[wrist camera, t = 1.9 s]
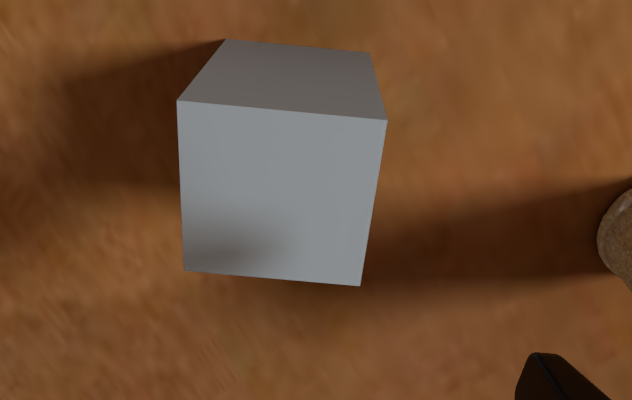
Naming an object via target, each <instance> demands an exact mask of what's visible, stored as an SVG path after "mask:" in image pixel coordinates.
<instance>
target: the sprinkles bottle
mask: <svg viewBox="0 0 632 400" xmlns="http://www.w3.org/2000/svg"><path fill="white" fill-rule="evenodd" d="M597 247H598V252H599V255H600V257H601V258H602V260H603V262H604V264H605V265H606V266H607V267H608V268H609V269H610V270H611V271H612V272H613V273H615V274H616V275H618V276H619V277H620V278H621V279H622V280H623V281H624V283H625V284H626V286H627V287H628V288H629V290H630V291H631V292H632V188H631V189H629V190H627V191H626V192H624V193H623V194H622V195H621V196H620V197H619V198H618V199H616V200H615V202H614V203H613V204H612V205H611V206H610V207H609V209H608V211H607V213H606V214H605V215H604V217H603V219H602V221H601V223H600V226H599V229H598V232H597Z"/></svg>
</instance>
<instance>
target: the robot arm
mask: <svg viewBox="0 0 632 400" xmlns="http://www.w3.org/2000/svg"><path fill="white" fill-rule="evenodd" d="M515 400H611V399H610V398H609V397H608V396H606V395H605V394H604V393H603V392H602V391H601V390H599V389H598V388H597V387H596V386H595V385H594V384H593V383H591V382H590V381H589V380H588V379H587V378H586V377H584V376H583V375H582V374H581V373H580V372H579V371H578V370H576V369H575V368H574V367H573V366H572V365H571V364H569V363H568V362H567V361H566V360H565V359H564V358H562V357H561V356H559V355H557V354H550V353H539V352H535V353H532V354H530V355H529V357H528V359H527V361H526V363H525V366H524V368H523V371H522V373H521V376H520V378H519V381H518V383H517V386H516V389H515Z"/></svg>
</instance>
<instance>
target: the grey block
mask: <svg viewBox="0 0 632 400" xmlns="http://www.w3.org/2000/svg"><path fill="white" fill-rule="evenodd" d="M387 121H388V120H387V116H386V113H385V109H384V105H383V101H382V98H381V94H380V90H379V86H378V83H377V79H376V75H375V71H374V67H373V64H372V60H371V56H370V53H367V52H356V51H346V50H336V49H326V48H315V47H305V46H295V45H284V44H274V43H264V42H254V41H243V40H233V39H226V40H225V41H224V42H223V43H222V45H221V46H220V47H219V48H218V50H217V51H216V52H215V53H214V55H213V56H212V57H211V58H210V60H209V61H208V62H207V63H206V64H205V66H204V67H203V68H202V69H201V71H200V72H199V73H198V74H197V76H196V77H195V78H194V79H193V81H192V82H191V83H190V84H189V86H188V87H187V88H186V89H185V91H184V92H183V93H182V94H181V95H180V97H179V98H178V99H177V123H178V146H179V169H180V193H181V216H182V239H183V262H184V271H192V272H204V273H215V274H226V275H238V276H249V277H261V278H272V279H284V280H295V281H306V282H318V283H329V284H341V285H352V286H360V283H361V277H362V271H363V265H364V259H365V253H366V247H367V241H368V235H369V229H370V223H371V217H372V211H373V205H374V199H375V193H376V187H377V181H378V175H379V169H380V163H381V157H382V151H383V145H384V139H385V133H386V127H387Z"/></svg>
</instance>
